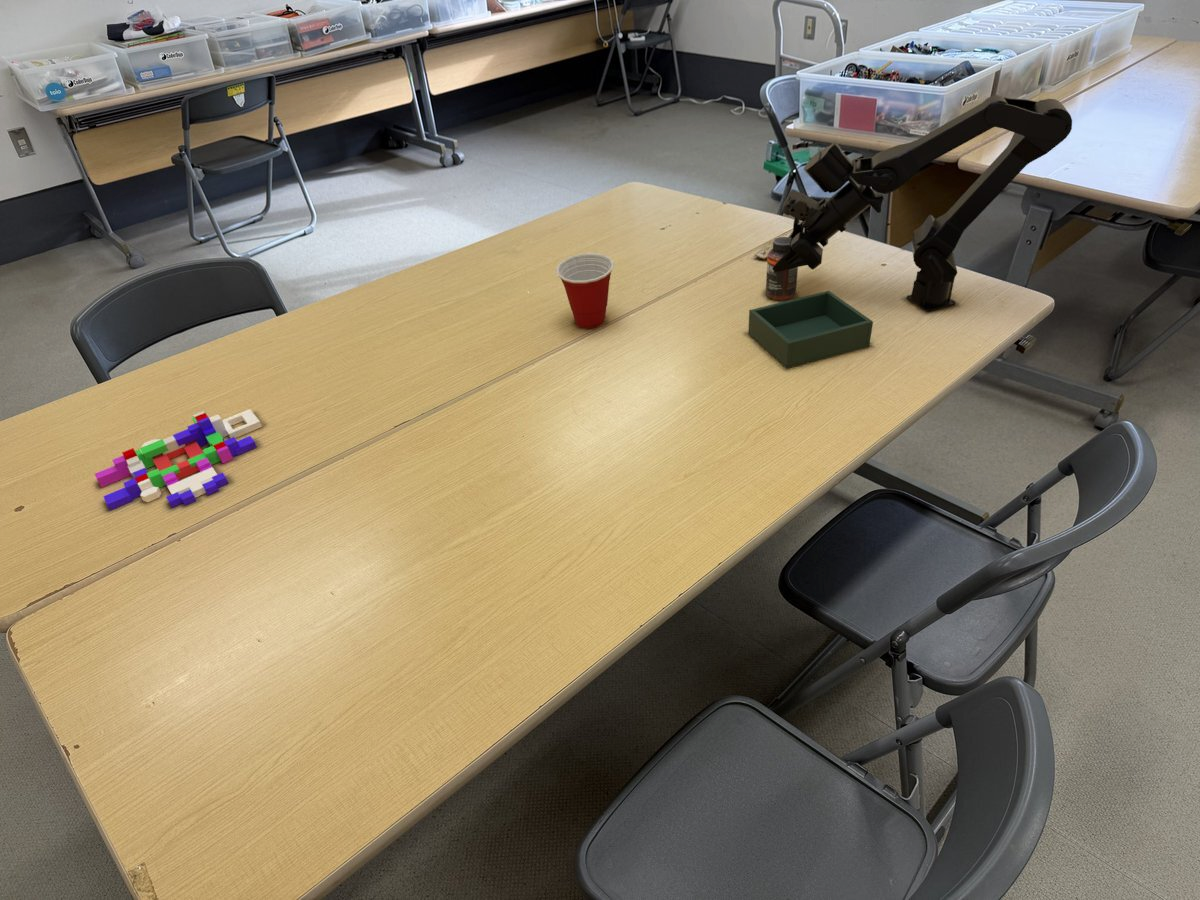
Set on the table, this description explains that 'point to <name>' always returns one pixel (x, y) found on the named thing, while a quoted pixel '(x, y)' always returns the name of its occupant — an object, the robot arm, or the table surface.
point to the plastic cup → (587, 287)
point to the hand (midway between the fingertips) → (775, 263)
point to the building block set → (170, 474)
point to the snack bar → (765, 250)
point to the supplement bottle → (780, 273)
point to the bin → (809, 329)
